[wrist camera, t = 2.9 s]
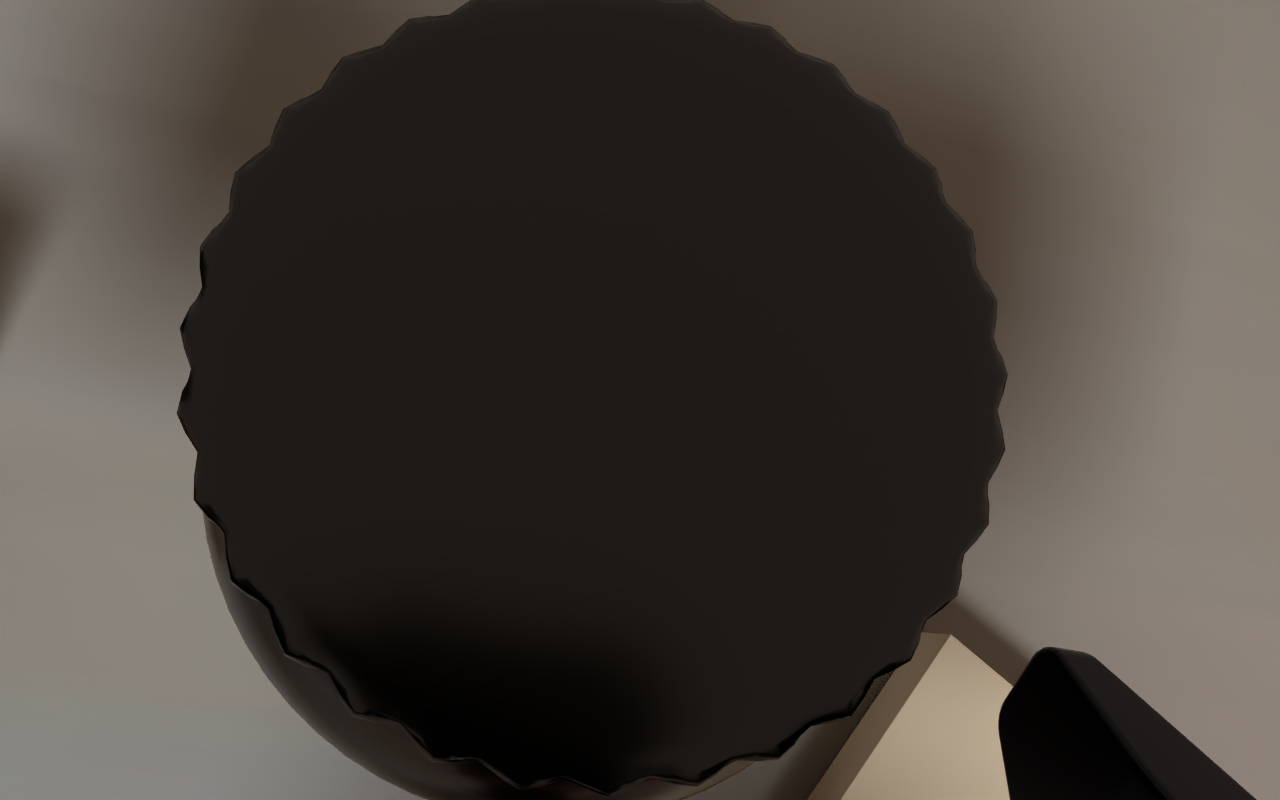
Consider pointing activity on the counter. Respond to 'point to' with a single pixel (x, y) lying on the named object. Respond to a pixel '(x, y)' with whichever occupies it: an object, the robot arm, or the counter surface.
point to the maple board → (926, 733)
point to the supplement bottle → (587, 400)
